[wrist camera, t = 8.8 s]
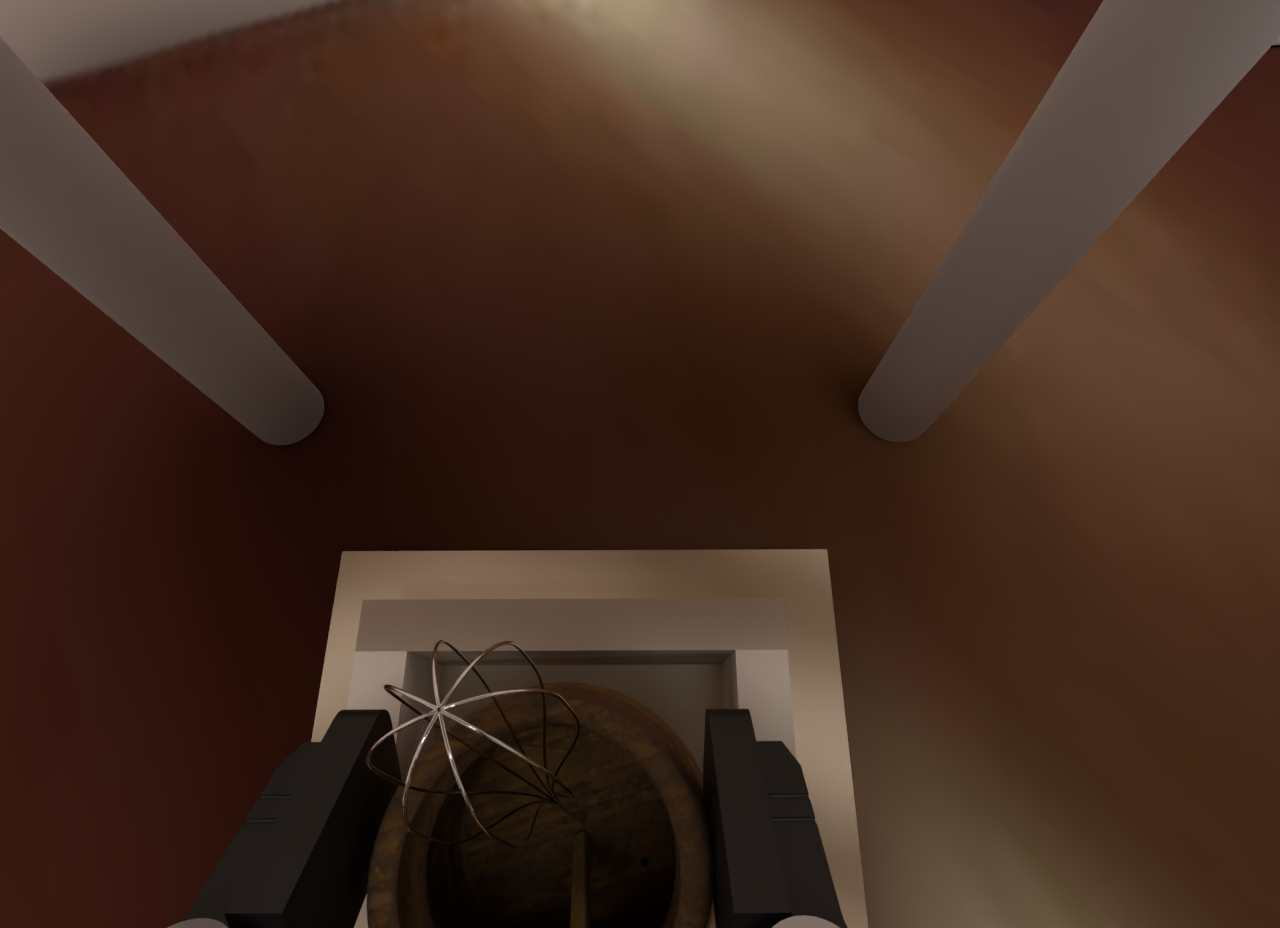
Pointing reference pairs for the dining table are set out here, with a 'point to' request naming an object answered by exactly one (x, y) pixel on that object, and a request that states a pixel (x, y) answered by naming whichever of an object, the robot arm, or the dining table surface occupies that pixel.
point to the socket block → (609, 651)
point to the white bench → (915, 361)
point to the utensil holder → (543, 816)
